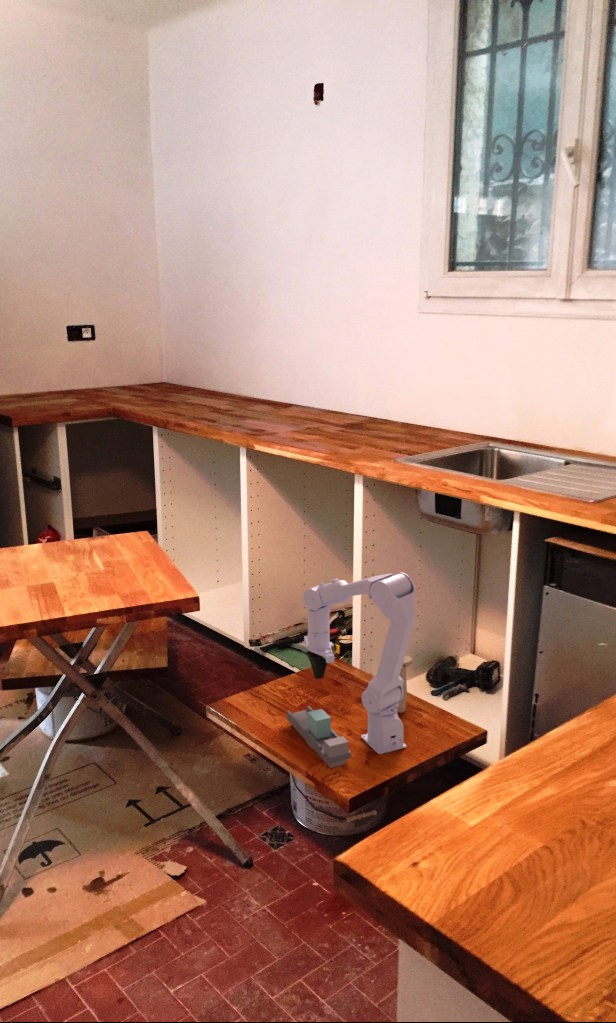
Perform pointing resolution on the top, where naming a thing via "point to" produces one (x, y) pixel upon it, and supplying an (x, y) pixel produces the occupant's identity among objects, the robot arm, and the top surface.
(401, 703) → the handle
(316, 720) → the rider
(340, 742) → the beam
